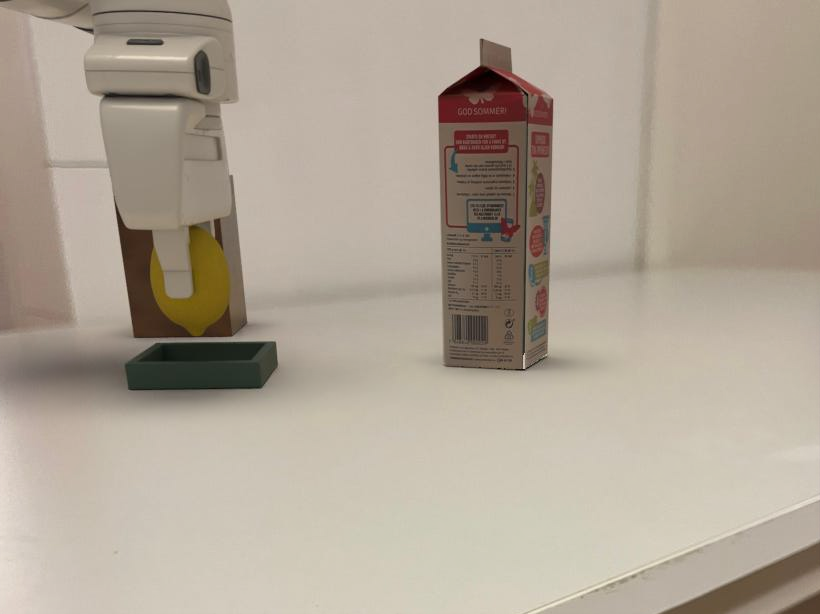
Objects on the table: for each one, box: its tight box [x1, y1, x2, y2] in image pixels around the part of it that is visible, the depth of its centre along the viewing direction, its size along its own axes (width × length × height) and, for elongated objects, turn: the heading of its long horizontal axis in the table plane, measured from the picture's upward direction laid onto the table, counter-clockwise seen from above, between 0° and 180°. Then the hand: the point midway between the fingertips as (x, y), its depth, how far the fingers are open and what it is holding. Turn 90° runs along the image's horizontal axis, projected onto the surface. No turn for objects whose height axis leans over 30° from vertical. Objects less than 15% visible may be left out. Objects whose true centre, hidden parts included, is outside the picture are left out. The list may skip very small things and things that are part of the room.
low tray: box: [124, 340, 279, 390], centre depth 75 cm, size 9×9×2 cm
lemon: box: [150, 225, 231, 338], centre depth 72 cm, size 6×6×8 cm
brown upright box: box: [111, 174, 248, 338], centre depth 94 cm, size 9×9×14 cm
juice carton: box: [437, 37, 554, 370], centre depth 76 cm, size 7×7×22 cm
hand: (191, 291), depth 73 cm, fingers closed on lemon, 5 cm apart
